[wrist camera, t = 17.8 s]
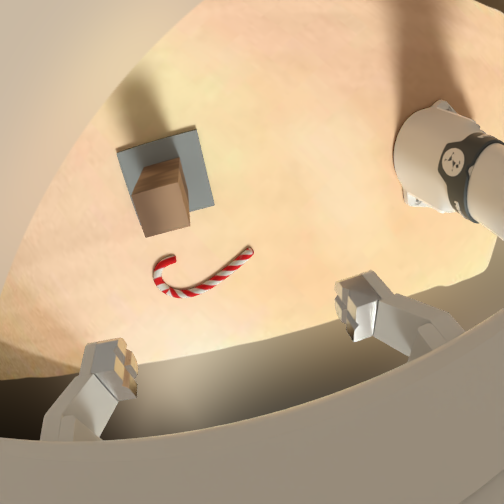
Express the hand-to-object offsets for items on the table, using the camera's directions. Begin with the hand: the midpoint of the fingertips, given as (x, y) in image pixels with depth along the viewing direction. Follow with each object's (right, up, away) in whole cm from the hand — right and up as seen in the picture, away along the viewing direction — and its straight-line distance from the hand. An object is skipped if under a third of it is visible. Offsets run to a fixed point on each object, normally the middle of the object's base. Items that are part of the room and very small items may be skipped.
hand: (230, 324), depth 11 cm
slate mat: (-10, +12, +25) cm, 30 cm away
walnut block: (-10, +11, +25) cm, 29 cm away
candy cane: (-6, +1, +34) cm, 34 cm away
